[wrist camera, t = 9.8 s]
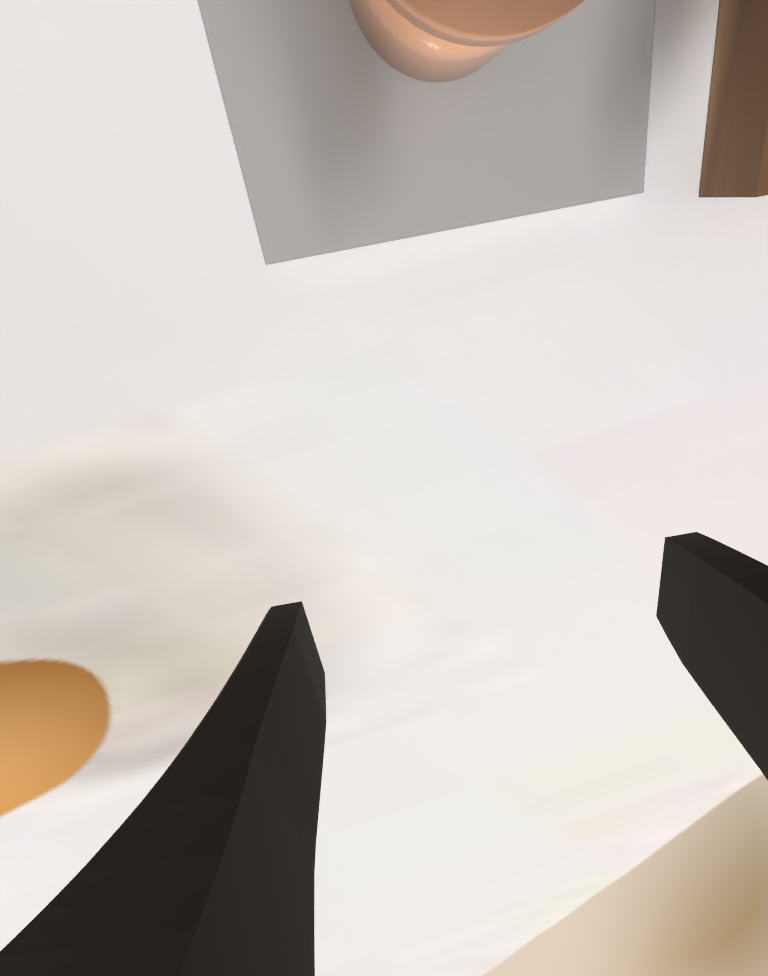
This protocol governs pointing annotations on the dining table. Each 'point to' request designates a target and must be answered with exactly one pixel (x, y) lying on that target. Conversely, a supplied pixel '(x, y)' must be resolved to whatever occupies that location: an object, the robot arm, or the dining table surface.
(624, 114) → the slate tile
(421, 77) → the terracotta pot
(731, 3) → the cold frame
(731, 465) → the dining table surface
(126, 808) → the dining table surface
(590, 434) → the dining table surface
